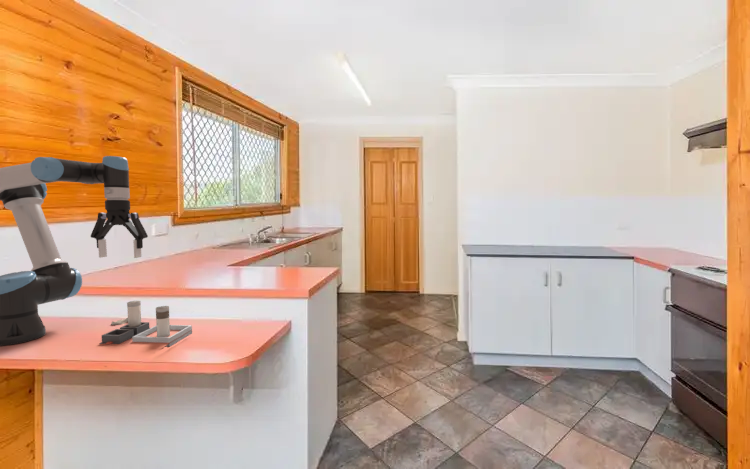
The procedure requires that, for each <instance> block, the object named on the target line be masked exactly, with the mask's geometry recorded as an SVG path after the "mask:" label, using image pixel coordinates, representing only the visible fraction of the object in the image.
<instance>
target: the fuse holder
mask: <svg viewBox="0 0 750 469" xmlns="http://www.w3.org/2000/svg"><path fill="white" fill-rule="evenodd" d="M150 328H151V327H150V321H149V322H148V321H147V322H146V321H141V325H140V326H138V327H128V323H126V324H124V325H122V326H120V327H119V328H116V329H113V330H111V331H108V332H106V333H104V334H102V335H101V342H99V345H100V344H106V345H120V344H122V343H124V342H126V341H129V340H130V339H131V340H132V337H133V336H135V335H137V334H139V333H142V332H144V331H146V330H148V329H150Z"/></svg>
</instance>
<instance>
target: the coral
mask: <svg viewBox="0 0 750 469" xmlns="http://www.w3.org/2000/svg"><path fill="white" fill-rule="evenodd" d="M123 324H124V325H126V324H128V317H125V318H123V319H119V320H117V321H112V322H111V324H110V325H111V326H119V325H123Z"/></svg>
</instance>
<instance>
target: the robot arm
mask: <svg viewBox="0 0 750 469" xmlns="http://www.w3.org/2000/svg"><path fill="white" fill-rule="evenodd" d="M129 170H130V168H129V162H128V159H127V158H126V157H122V156H117V155H105V156H103V157H102V162H87V161H80V160H71V159H64V158H63V159H62V158H57V157H56V158H55V157H52V156H51V157H50V156H48V157H47V156H38V157H35V158H34V160H32V161H31V162H27V163H20V164H15V165H9V166H4V167H0V201H1V202H2V204H3V207H4V208H5V209H6V210H9V211H11V213H12V216H13V218H14V222H15V223H16V226H17V228H18V231H19V233H20V235H21V239H22V242H23V244H24V246H25V247H24V248H25V249H26V251H27V254H28V256H29V259H30V262H31V264H32V268H31V270H24V271H22V270H21V271H18V272H10V273H4V274H1V275H0V346H1V347H2V346H10V345H17V344H22V343H26V342H30V341H33V340H36V339H39V338H41V337H43V336H45V335H46V334H47V330H46V329H47V328H46V326H45V325H44V323H43V320H42V319H41V316H40V315H39V305H43V304H46V303H52V302H56V301H61V300H65V299H68V298H73V297H74V296H76V295H77V294H78V293H79V292H80V290H81V289H82V288H81V287H82V286H83V278H82V273H81V272H80V271H79V270H78V269H77V268H74V267H70V264H69V262H67V261H65V260H62V257H61V255H60V252H59V250H58V247H57V245H56V242H55V239H54V236H53V235H52V231H51V229H50V226H49V224H48V221H47V219H46V216H45V214H44V211H43V207H42V205H43V204H44V203H45V202H44V200H45V199H46V197H47V194H48V193H47V191H48V188H47V185H46V184H49V183H50V184H51V183H56V182H57V183H58V182H65V183H66V182H67V183H81V184H84V185H85V184H86V185H95V184H103V187H104V188H103V190H104V198H105V200H104V210H105V211H106V212H98V213H97V220H96V221H95V223H94V226H93V229H92V231H91V234H90V238H91V239H95V240H96V248H97V249H98V258H100V259H101V258H106V257H108V255H107V254H108V253H107V252H108V251H107V239H106V238H105V237H106V236H107V235H108V233H109V232H110V231H111V230H112V228H113V227H114V226H123V227H124V228H126V229H127V231H128V233H129V234H130V235H131V236H133V238H134V239H133V240H132V241H133V258H134V259H135V258H136V259H137V258H141V257H142V249H143V242H144V241H143V240H144V239H147V238H148V237H149V236H148V232H146V230H145V228H144V226H143V224H142V221H141V220H140V216H139V213H138V212H130V211H131V201H130V199H131V195H130V192H131V190H130V175H129V174H130V173H129V172H130V171H129Z"/></svg>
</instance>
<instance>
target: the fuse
mask: <svg viewBox="0 0 750 469" xmlns="http://www.w3.org/2000/svg"><path fill="white" fill-rule="evenodd" d="M141 303H142V302H141V300H132V301H128V302H126V307H127V309H126V310H127V318H128V322H127V324H128V327H138V326H140V325H141V322H142V313H141V312H142V311H141V310H142V308H141V307H142V306H141Z"/></svg>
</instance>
